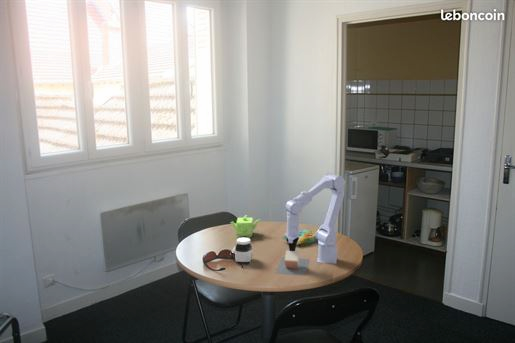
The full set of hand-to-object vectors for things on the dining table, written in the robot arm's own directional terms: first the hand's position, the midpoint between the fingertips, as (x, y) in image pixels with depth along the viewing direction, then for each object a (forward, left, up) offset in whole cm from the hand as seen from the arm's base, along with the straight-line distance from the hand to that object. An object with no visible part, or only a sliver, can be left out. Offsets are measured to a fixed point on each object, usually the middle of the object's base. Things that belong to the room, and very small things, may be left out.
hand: (292, 252), depth 213 cm
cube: (0, -1, -1) cm, 2 cm away
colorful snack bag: (0, -38, -8) cm, 39 cm away
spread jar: (+27, -4, -8) cm, 28 cm away
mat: (0, -1, -8) cm, 8 cm away
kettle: (+34, -42, -8) cm, 55 cm away
